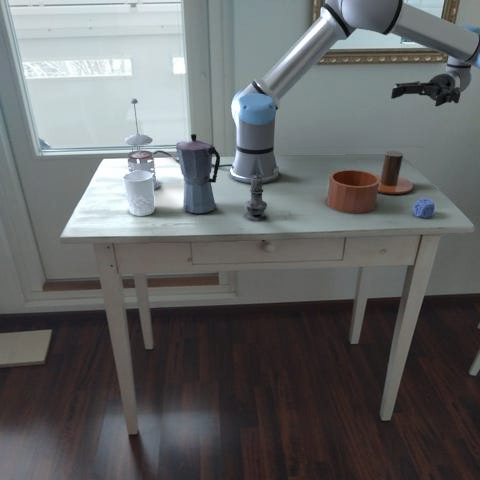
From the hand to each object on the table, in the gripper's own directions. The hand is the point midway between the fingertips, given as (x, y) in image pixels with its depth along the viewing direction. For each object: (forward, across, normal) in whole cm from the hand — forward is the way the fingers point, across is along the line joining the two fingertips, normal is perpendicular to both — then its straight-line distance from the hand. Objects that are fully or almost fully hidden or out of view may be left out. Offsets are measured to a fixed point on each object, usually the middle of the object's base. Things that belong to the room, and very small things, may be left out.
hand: (414, 97), depth 139 cm
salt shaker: (+51, +17, -25) cm, 59 cm away
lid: (+7, 0, -24) cm, 25 cm away
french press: (+56, +58, -25) cm, 84 cm away
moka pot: (+57, +32, -25) cm, 70 cm away
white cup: (+69, +43, -25) cm, 85 cm away
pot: (+26, +2, -25) cm, 36 cm away
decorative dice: (+20, -17, -25) cm, 36 cm away
